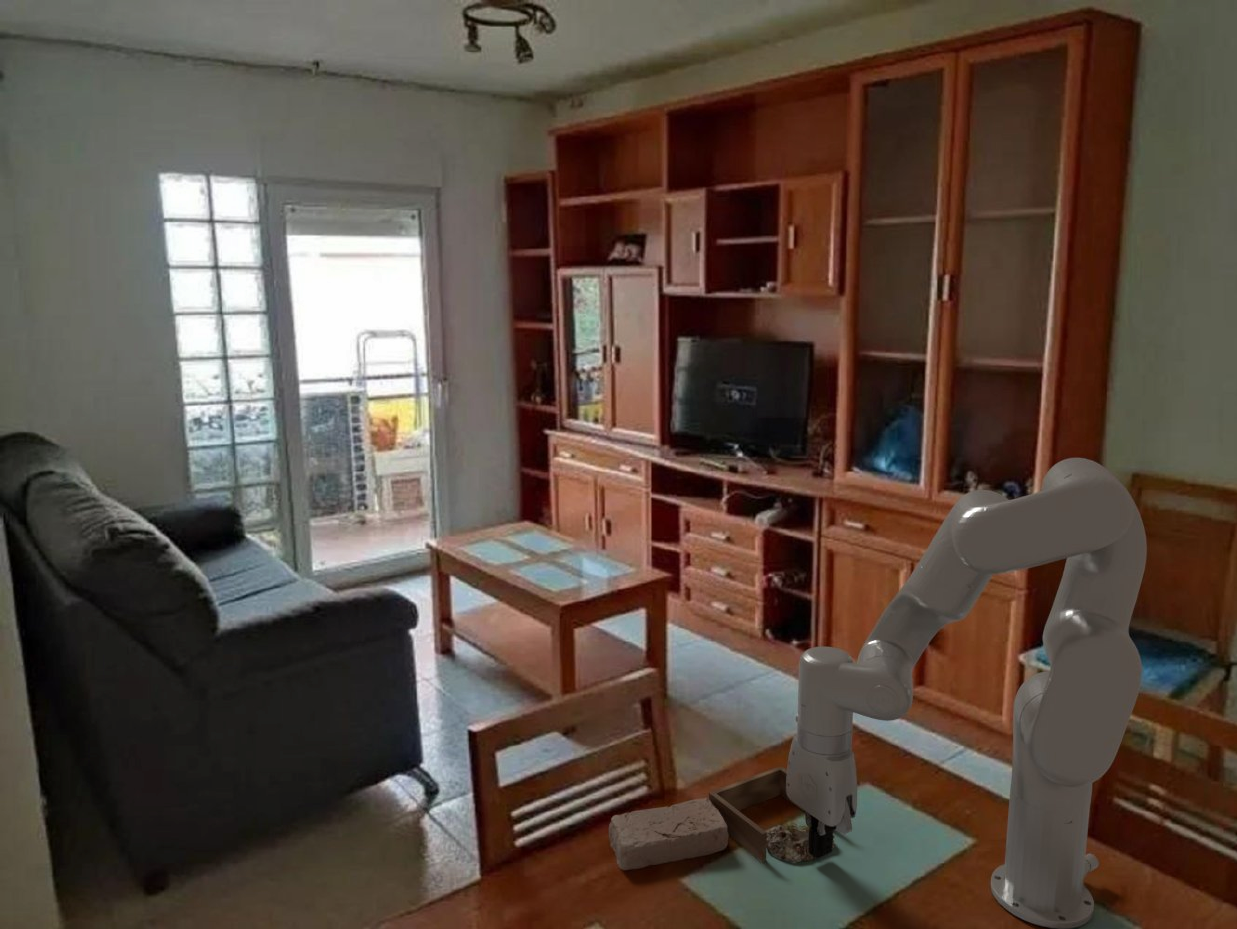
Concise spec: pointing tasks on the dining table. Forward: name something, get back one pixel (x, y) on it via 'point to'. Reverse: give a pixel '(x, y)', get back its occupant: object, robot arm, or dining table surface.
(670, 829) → the brick
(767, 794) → the box
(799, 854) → the mineral rock
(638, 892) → the dining table surface
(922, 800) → the dining table surface
